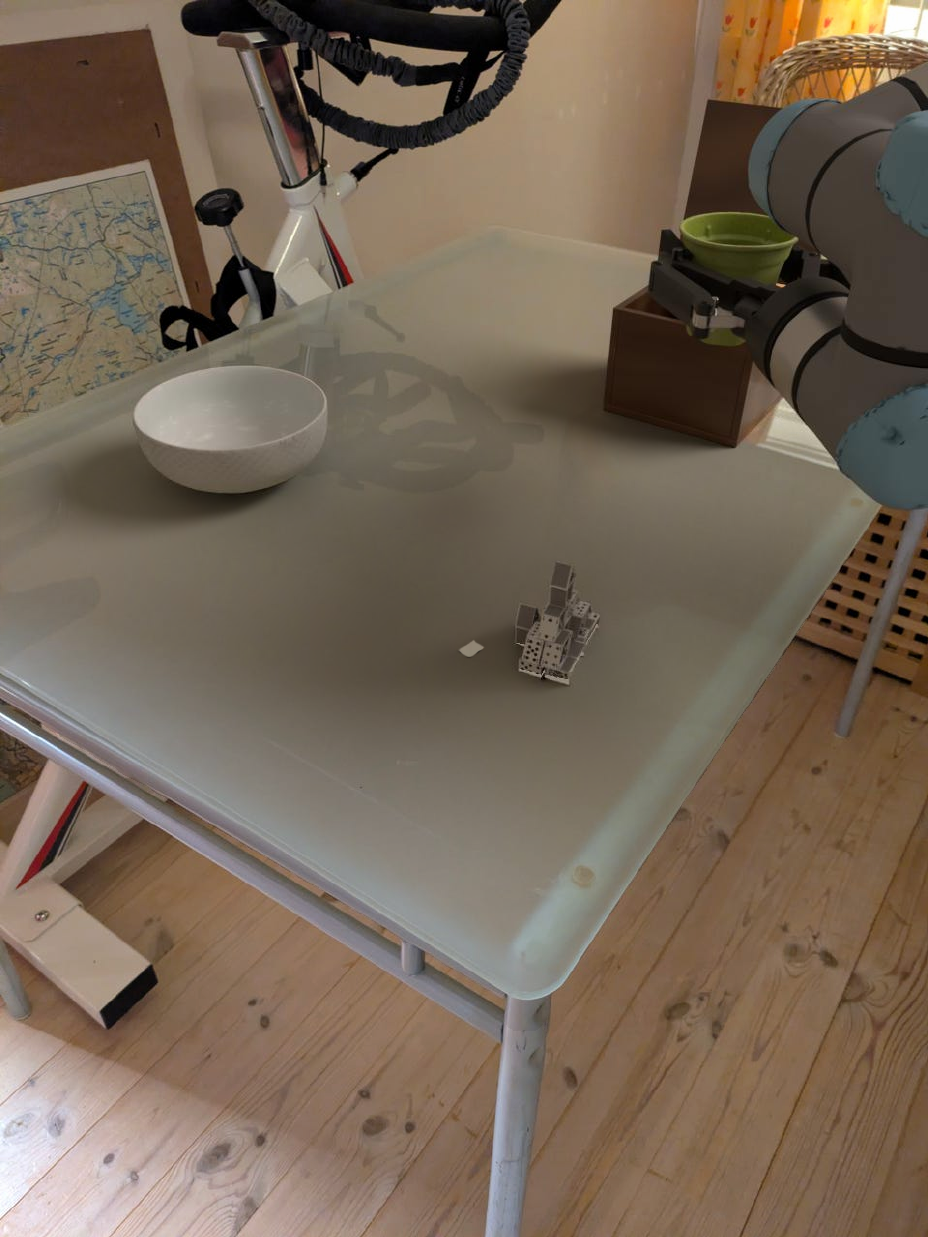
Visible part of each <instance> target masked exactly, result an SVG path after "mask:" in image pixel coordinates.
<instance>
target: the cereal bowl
mask: <svg viewBox="0 0 928 1237" xmlns="http://www.w3.org/2000/svg"><path fill="white" fill-rule="evenodd" d="M328 410H329V409H328V401H327V397H326V394H325V393H324V391H323V390H322V388H320V386H319V385H318V384H317V383H316V382H314V381H312V380H311V379H309V378H307V377H305V376H303V375H302V374H299V373H296V372H293V371H289V370H286V369H281V368H275V367H269V366H263V365H262V366H261V365H228V366H216V367H211V368H209V367H208V368H205V369H199V370H195V371H191V372H187V373H183V374H181V375H178V376H175V377H172V378H169V379H168V380H166V381H163V382H161V383H159V384H157V385H155V386H154V387H153V388H151V389H150V390H148V391H147V392H146V393H145V394H144V395H142V397H141V398H140V399H139V400H138V401H137V402H136V404H135V406H134V408H133V412H132V425H133V427H134V433H135V434H136V438H137V439H136V440H137V441H138V443H139V447H140V450H141V451H142V453H143V456H145V457H146V459H147V461H148V462H149V463H150V464H151V466H152V467H153V468H155V469H156V471H157V472H159V473H160V474H161V475H162V476H163V477H166V478H167V479H168V480H171V481H172V482H174V483H176V484H179V485H180V486H184V487H186V488H189V489H193V490H195V491H201V492H204V493H205V492H207V493H214V494H215V493H216V494H245V493H251V492H255V491H259V490H260V491H261V490H263V489H267V488H271V487H274V486H276V485H278V484H280V483H283V482H284V483H285V481H288V480H289V479H292V478H293V477H295V476H296V475H298V474H299V473H301V472H302V471H304V470H305V469H306V468H307V467H308V466H309V465H310V464H311V463H312V462H313V461H314V460H315V458H316V457H317V456H318V454H319V452H320V451H322V450H321V449H322V447H323V445H324V442H325V439H326V434H327V431H328V417H329V416H328V415H329V414H328Z"/></svg>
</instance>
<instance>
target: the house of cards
mask: <svg viewBox="0 0 928 1237" xmlns="http://www.w3.org/2000/svg"><path fill="white" fill-rule="evenodd" d="M576 578H577V574H576V569H575V566H574V565H573V564H569V563H567V562H562V561H558V560H555V561H554V564H553V569H552V573H551V579H550V581H549V582H550V583H549V585H548V587H549V598H548V602H547V603H546V606H545V607H543V610H542V612H541V615H540V612H539V610H538V607H537V606H533V605H530V604H526V603H523V602H519V605H518V609H517V613H516V617H515V621H514V627H515V634H514V635H515V636H514V637H515V638H514V644H515V643H520V644H524V645H525V646H524V647H523V651H522V655H521V657H520V658H518V667H517V670H518V669H522V670H526V671H530V672H535V673H536V674H541V675H542V673H543V671H544V670H545V674H544V675H543V678H544V677H545V675H550V676H554V677H556V678H557V677H559V678H564V679H569V680H570V681H571V676H572V674H571V670H572V668H573V666H574V664H575V662H576V661H577V659H578V657H579V656H580V654H581V652H584V653H585V654H586V647H587V645H586V642H587V640H588V638H589V637H590V635H591V633H592V632H593V630H594V628H595V626H596V624H598V625H599V626H600V624H601V623H600V622H601V614H599V613H595V612H593V609H592V605H591V603H590V602H586V601H583V600H581V598H580V595H579V592H580V591H579V590H576V589H574V583H575V582H574V581H575V579H576ZM585 646H586V647H585ZM570 675H571V676H570Z"/></svg>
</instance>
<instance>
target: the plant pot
mask: <svg viewBox="0 0 928 1237" xmlns="http://www.w3.org/2000/svg"><path fill="white" fill-rule="evenodd" d="M678 228H679V233H680V234H681V235H682V236H683V239H684V245H685V247H686V248H687V249H689V250H690V251H691V252H692V254H693V258H692V261H693V262H695V263H697V264H700V265H702V266H705V267H707V268H709V269H712V270H714V271H717V272H719V273H721V274H724V275H726V276H729V277H731V278H733V279H738V278H742V277H749V278H751V279H753V280H756V281H758V282H761V283H763V284H766V285H768V284H775V285H778V284H777V281H778V278H779V275H780V272H781V269H782V266H783V263H784V261H785V260H786V259H787V258H788V256H789V253H790V251H791V248H792V246H793V244H795V243H796V242H797V241H798V240H799V239H798V238H797V237H795V236H794V235H790V234H788V233H786V232H785V231H783V230H781V229H779V227H778V226H777V225H776V224H774V222H773V220H772V219H771V218H770V217H769V216H764V215H759V214H753V213H740V212H717V213H708V214H701V215H697V216H693V217H690V218H688V219H685V220H684V221H683V220H682V221H681V222H680V223H679V227H678ZM747 293H748V292H747ZM686 329H687V332H688V334H689V335H690V336H692V334H691V331H690V328H689V326H687V325H686ZM700 340H701V341H702V342H705V343H708V344H712V345H725V346H735V345H740V344H742V343H743V342H745V341H746V340H744V339H742V338H740V337H737V336H735V335H734V334H733V333H732V332H731V330H730V328H714V331H712V332H709V337H708V338H706V339H700Z"/></svg>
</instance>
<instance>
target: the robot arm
mask: <svg viewBox="0 0 928 1237" xmlns="http://www.w3.org/2000/svg"><path fill="white" fill-rule="evenodd" d="M782 108H783V109H782V110H780V111H779V112H777V113H776V114H775V115H774V116H773V117H772V118H771V119H770V120H769V121H768V123H767V124H766V125H765V126H764V128H763V129H762V130H761V132H760V134H759V135H758V137H757V139H756V141H755V143H754V145H753V148H752V151H751V154H750V159H749V166H748V177H749V185H748V186H749V188H750V189H751V193H752V195H753V197H754V199H755V201H756V202H757V204H758V205H759V206H760V207H761V209H762V210H763V211H764V212H765V213H766V214H767V215H768V216H769V217H770V218H771V219H772V220H773V222H774V224H776V225H777V226H778V227H779V229H781V230H783V231H785V232H786V233H788V234H790V235H794V236H795V237H797V238H798V239H800V240H801V241H803V242H804V243H806V244H807V245H809V246H810V247H812V248H813V249H814V250H816V251H817V252H819V253H817V252H808V251H807V250H806V249H805V248H803V247H801V246H798V245H797V244H796V243H795V244H793V246H792V248H791V251H790V253H789V256H788V258H787V259H786V260H785V261H784V263H783V266H782V269H781V272H780V275H779V277H780V278H781V279H782V280H783V281H784V282H785V283H786V284H787V285H783V286H781V285H778V284H776V285H775V284H768V285H766V284H763V283H761V282H758V281H756V280H753V279H751V278H749V277H742V278H738V279H733V278H731V277H729V276H726V275H724V274H721V273H719V272H717V271H714V270H712V269H709V268H707V267H705V266H702V265H700V264H697V263H695V262H693V261H692V258H693V254H692V252H691V251H690V250H689V249H687V248H686V247H685V245H684V244H683V243H682V242H681V240H680V237H678V236H677V235H676V234H675V233H674V232H673V230H672V229H661V230H660V231H661V232H660V239H659V247H658V255H657V260H653V261H651V262H650V269H649V277H648V284H647V285H648V293H647V294H648V295H649V296H650V297H651V298H653V299H654V300H655V301H656V302H658V303H659V304H660V305H662V306H663V307H664V308H666V309H667V310H668V311H669V312H671V313H672V314H673V315H675V316H676V317H677V318H678V319H680V320H681V321H682V322H684V323H685V324H686V325H687V326H689V328H690V331H691V334H692V336H693V337H695V338H698V339H706V338H708V337H709V332H712V331H714V328H730V330H731V332H732V333H733V334H734V335H735V336H737V337H740V338H742V339H744V340H746V342H747V345H748V348H749V351H750V354H751V357H752V359H753V361H754V363H755V365H756V366H757V368H758V369H759V370H760V371H761V373H762V374H763V375H764V376H765V377H766V379H767V380H768V381H769V382H770V383H771V385H772V386H773V387H774V388H775V389H776V390H778V392H779V393H780V394H781V395H782V397H783V398H782V399H784V401H785V402H786V403H787V404H788V405H789V406H790V408H791V409H792V410H793V411H794V412H795V414H796V415H797V416H798V418H800V420H801V421H802V422H804V423H803V424H805V425H806V426H807V427H808V428H809V430H810V431H811V433H813V435H814V436H815V438H816V439H817V440H818V441H819V443H820V444H821V445H822V446H823V447H824V449H825V450H826V451H827V452H828V453H829V455H830V456H831V458H832V459H833V460H834V461H835V463H836V466H837V467H838V470H839V472H840V473H842V475H844V476H845V477H846V478H847V479H849V480H851V481H852V482H853V483H854V485H856V486H857V487H858V488H859V489H860V490H861V491H862V492H863V493H864V494H865V495H866V496H868V497H869V498H870V499H871V500H872V501H874V502H875V503H877V504H879V505H880V506H883V507H885V508H888V509H892V510H897V511H909V512H911V511H917V510H924V509H928V61H926V62H924V63H922V64H920V65H917V66H916V67H913V68H912V69H909V70H908V71H905V72H904V73H902V74H900V75H898V76H896V77H894V78H891V79H889V80H888V81H885V82H883V83H881V84H878V85H876V86H874V87H872V88H870V89H869V90H866V91H864V92H862V93H860V94H859V95H856V96H854V97H852V98H850V99H848V100H846V101H841V100H839V99H837V98H828V97H825V98H818V97H815V98H813V97H812V98H803V99H800V100H797V101H794V102H792V103H790V104H788V105H786V106H784V107H782ZM822 257H823V258H822ZM798 277H799V278H800V279H799V280H797V279H798ZM747 292H748V293H747Z"/></svg>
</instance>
